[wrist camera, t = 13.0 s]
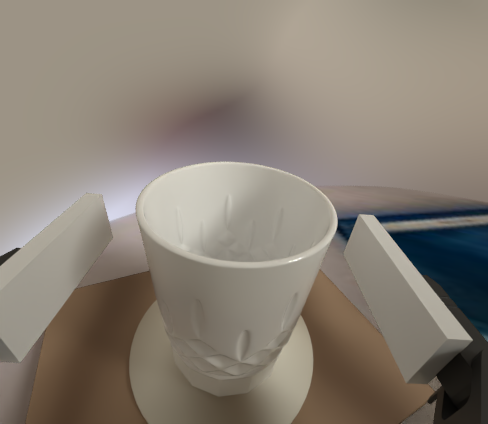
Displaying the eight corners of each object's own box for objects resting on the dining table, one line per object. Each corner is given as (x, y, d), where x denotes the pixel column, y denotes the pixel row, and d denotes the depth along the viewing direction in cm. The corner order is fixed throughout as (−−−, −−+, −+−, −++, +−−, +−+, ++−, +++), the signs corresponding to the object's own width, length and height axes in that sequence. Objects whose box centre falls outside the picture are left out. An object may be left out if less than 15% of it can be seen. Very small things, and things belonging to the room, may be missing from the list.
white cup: (296, 422, 12) (369, 282, 7) (138, 401, 12) (85, 248, 7) (285, 292, 19) (317, 170, 13) (183, 280, 19) (174, 154, 13)
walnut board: (286, 248, 26) (290, 234, 25) (424, 404, 15) (439, 391, 14) (59, 307, 18) (51, 291, 17) (-19, 745, 7) (-56, 770, 6)
